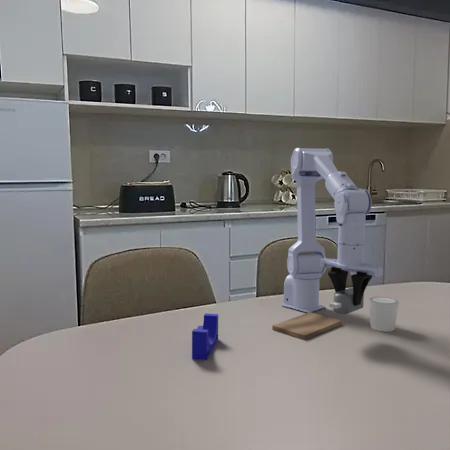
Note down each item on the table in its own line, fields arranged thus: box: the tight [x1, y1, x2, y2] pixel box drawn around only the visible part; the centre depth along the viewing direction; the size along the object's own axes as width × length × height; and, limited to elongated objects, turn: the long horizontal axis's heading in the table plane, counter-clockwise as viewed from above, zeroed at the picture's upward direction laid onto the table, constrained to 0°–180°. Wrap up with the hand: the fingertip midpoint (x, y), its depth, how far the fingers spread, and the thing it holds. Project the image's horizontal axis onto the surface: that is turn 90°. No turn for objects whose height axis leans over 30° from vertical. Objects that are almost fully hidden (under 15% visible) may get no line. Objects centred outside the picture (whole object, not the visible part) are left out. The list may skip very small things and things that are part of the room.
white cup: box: [368, 296, 399, 333], centre depth 113 cm, size 7×7×7 cm
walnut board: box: [271, 312, 343, 341], centre depth 113 cm, size 10×16×1 cm, turn 134°
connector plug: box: [329, 287, 365, 315], centre depth 104 cm, size 4×11×4 cm, turn 134°
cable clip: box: [191, 312, 219, 361], centre depth 99 cm, size 12×4×6 cm, turn 170°
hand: (348, 302), depth 105 cm, fingers closed on connector plug, 3 cm apart
